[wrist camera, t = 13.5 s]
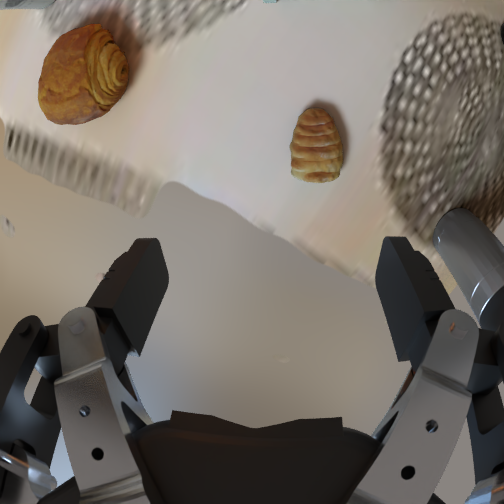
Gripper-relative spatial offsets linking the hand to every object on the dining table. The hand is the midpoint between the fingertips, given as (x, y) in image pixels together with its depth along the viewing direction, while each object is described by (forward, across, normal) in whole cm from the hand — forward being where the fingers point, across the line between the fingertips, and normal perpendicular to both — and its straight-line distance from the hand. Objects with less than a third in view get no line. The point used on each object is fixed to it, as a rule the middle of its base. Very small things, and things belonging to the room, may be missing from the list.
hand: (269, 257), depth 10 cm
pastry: (+29, -5, +4) cm, 29 cm away
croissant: (+28, +25, -11) cm, 40 cm away
